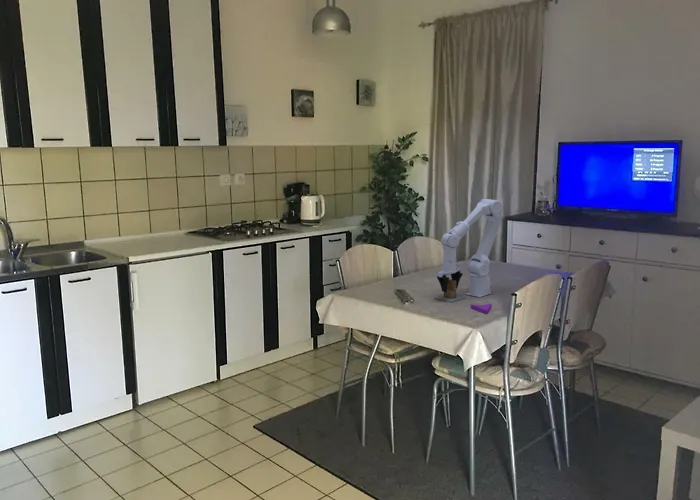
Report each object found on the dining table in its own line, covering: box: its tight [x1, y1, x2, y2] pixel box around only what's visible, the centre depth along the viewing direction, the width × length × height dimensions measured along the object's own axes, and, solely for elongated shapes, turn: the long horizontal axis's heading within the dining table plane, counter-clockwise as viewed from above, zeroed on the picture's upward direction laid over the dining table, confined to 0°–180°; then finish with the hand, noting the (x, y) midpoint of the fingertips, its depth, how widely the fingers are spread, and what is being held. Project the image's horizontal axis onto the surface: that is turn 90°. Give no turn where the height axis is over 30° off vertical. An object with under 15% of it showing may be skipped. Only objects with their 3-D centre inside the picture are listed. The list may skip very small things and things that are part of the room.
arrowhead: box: [470, 303, 492, 315], centre depth 246 cm, size 10×2×10 cm
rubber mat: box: [433, 294, 466, 303], centre depth 264 cm, size 10×10×1 cm
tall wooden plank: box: [443, 278, 457, 299], centre depth 263 cm, size 2×5×8 cm, turn 42°
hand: (449, 290), depth 263 cm, fingers open, 7 cm apart
